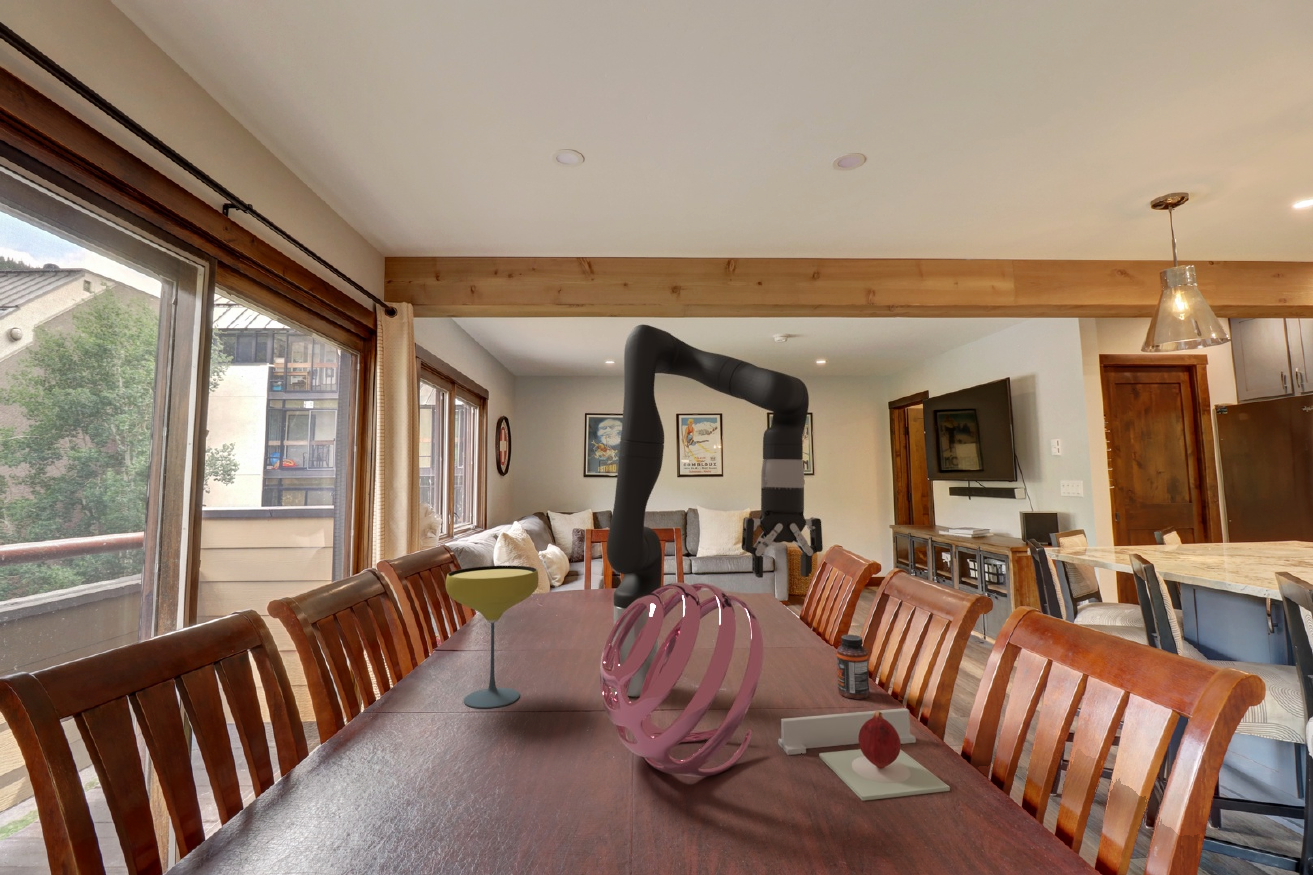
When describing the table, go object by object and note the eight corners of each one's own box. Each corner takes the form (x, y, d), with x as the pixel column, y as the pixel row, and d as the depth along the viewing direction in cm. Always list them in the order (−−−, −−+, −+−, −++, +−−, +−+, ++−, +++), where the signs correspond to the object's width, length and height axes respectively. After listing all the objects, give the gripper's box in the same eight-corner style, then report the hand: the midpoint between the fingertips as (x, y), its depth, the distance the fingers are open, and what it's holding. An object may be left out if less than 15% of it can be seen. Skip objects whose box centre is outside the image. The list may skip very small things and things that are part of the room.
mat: (862, 800, 79) (862, 796, 79) (819, 756, 92) (819, 752, 92) (949, 790, 81) (949, 786, 82) (895, 748, 94) (895, 745, 94)
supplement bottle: (833, 690, 121) (831, 633, 122) (861, 688, 121) (859, 632, 122) (845, 700, 115) (843, 641, 116) (874, 699, 116) (872, 640, 116)
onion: (905, 779, 83) (903, 720, 84) (863, 776, 85) (860, 718, 85) (897, 760, 89) (894, 705, 90) (857, 757, 90) (854, 703, 91)
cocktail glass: (544, 707, 113) (545, 575, 115) (444, 722, 107) (446, 581, 109) (531, 678, 130) (531, 563, 132) (443, 689, 124) (445, 568, 126)
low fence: (787, 754, 93) (787, 725, 93) (778, 743, 97) (777, 715, 97) (915, 742, 96) (914, 713, 97) (901, 732, 100) (900, 704, 101)
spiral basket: (771, 605, 110) (656, 527, 103) (850, 694, 83) (703, 597, 76) (681, 726, 110) (560, 657, 103) (730, 853, 83) (572, 772, 76)
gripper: (811, 485, 111) (810, 572, 110) (737, 484, 109) (737, 573, 108) (829, 486, 104) (829, 580, 103) (750, 485, 101) (750, 581, 101)
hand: (781, 576), depth 105 cm, fingers open, 8 cm apart
